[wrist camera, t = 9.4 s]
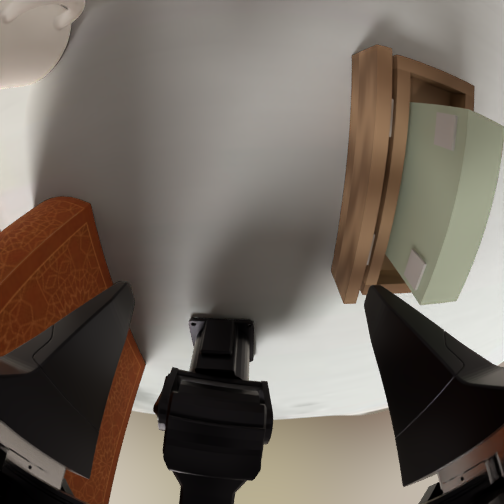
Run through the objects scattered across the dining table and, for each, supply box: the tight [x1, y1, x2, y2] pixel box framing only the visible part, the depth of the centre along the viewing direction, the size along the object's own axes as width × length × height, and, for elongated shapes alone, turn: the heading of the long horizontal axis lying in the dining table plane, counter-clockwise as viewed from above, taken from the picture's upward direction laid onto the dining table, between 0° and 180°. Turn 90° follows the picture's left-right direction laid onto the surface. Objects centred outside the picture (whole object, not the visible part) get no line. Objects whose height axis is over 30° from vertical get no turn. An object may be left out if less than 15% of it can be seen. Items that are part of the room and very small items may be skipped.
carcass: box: [331, 45, 474, 304], centre depth 17 cm, size 18×11×4 cm, turn 0°
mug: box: [0, 0, 85, 89], centre depth 8 cm, size 12×8×10 cm
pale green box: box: [385, 102, 504, 305], centre depth 14 cm, size 12×4×7 cm, turn 0°
